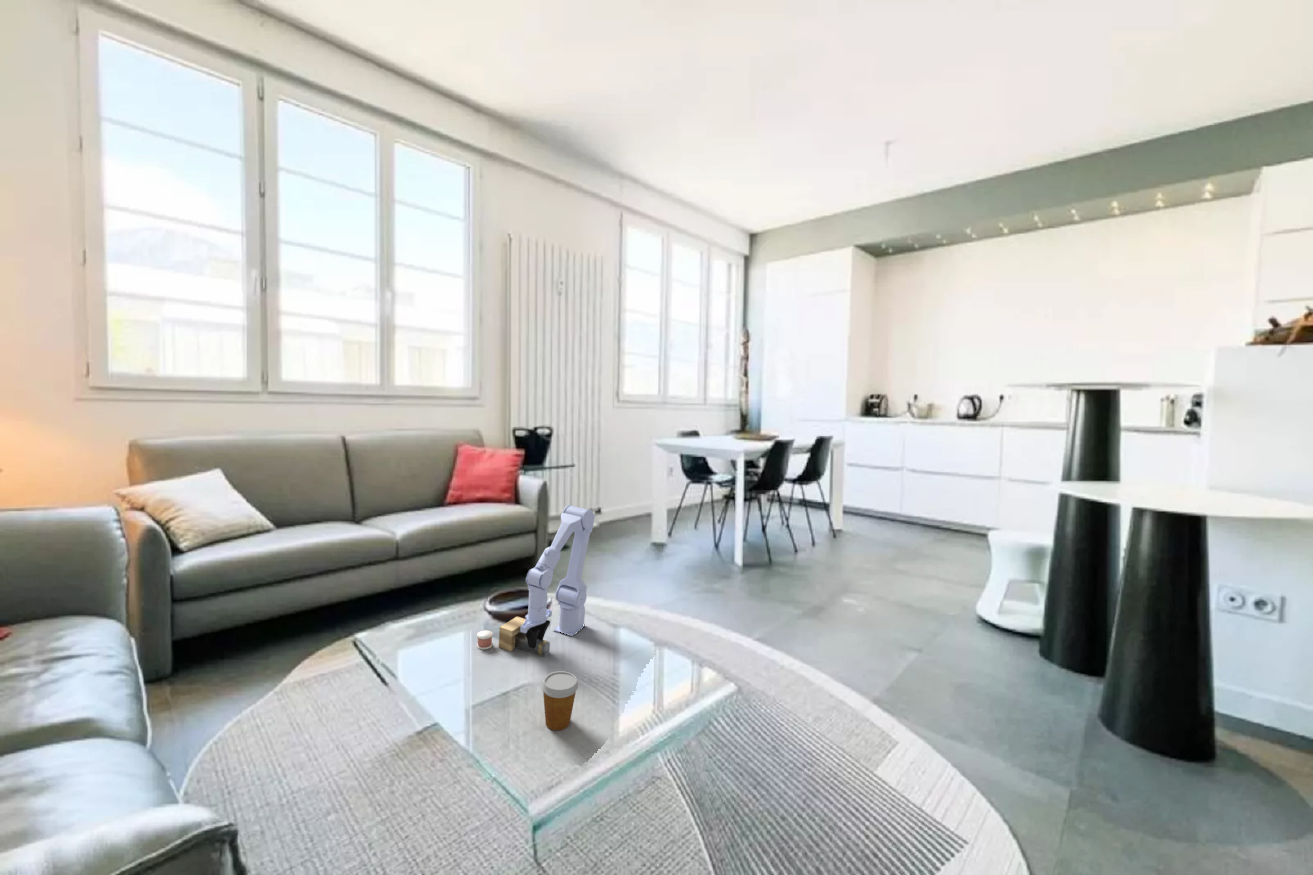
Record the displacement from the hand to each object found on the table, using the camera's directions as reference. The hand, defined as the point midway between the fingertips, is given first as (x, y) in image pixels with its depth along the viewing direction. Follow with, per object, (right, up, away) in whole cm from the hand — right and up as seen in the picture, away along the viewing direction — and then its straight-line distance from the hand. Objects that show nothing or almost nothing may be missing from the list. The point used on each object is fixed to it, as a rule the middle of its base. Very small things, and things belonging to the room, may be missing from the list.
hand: (535, 644), depth 182 cm
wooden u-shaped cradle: (-8, -1, +3) cm, 9 cm away
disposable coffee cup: (+13, -8, -35) cm, 38 cm away
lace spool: (-17, -1, +1) cm, 17 cm away
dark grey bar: (-3, -2, +2) cm, 4 cm away
